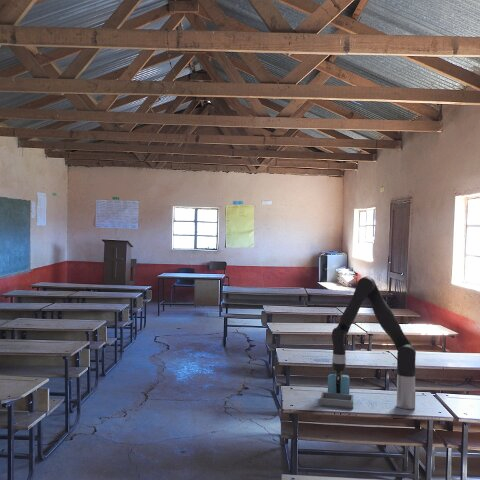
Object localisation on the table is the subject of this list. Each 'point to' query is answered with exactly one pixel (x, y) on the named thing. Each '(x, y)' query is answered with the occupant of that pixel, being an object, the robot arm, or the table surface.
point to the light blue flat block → (332, 384)
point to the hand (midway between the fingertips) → (338, 391)
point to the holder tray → (336, 400)
